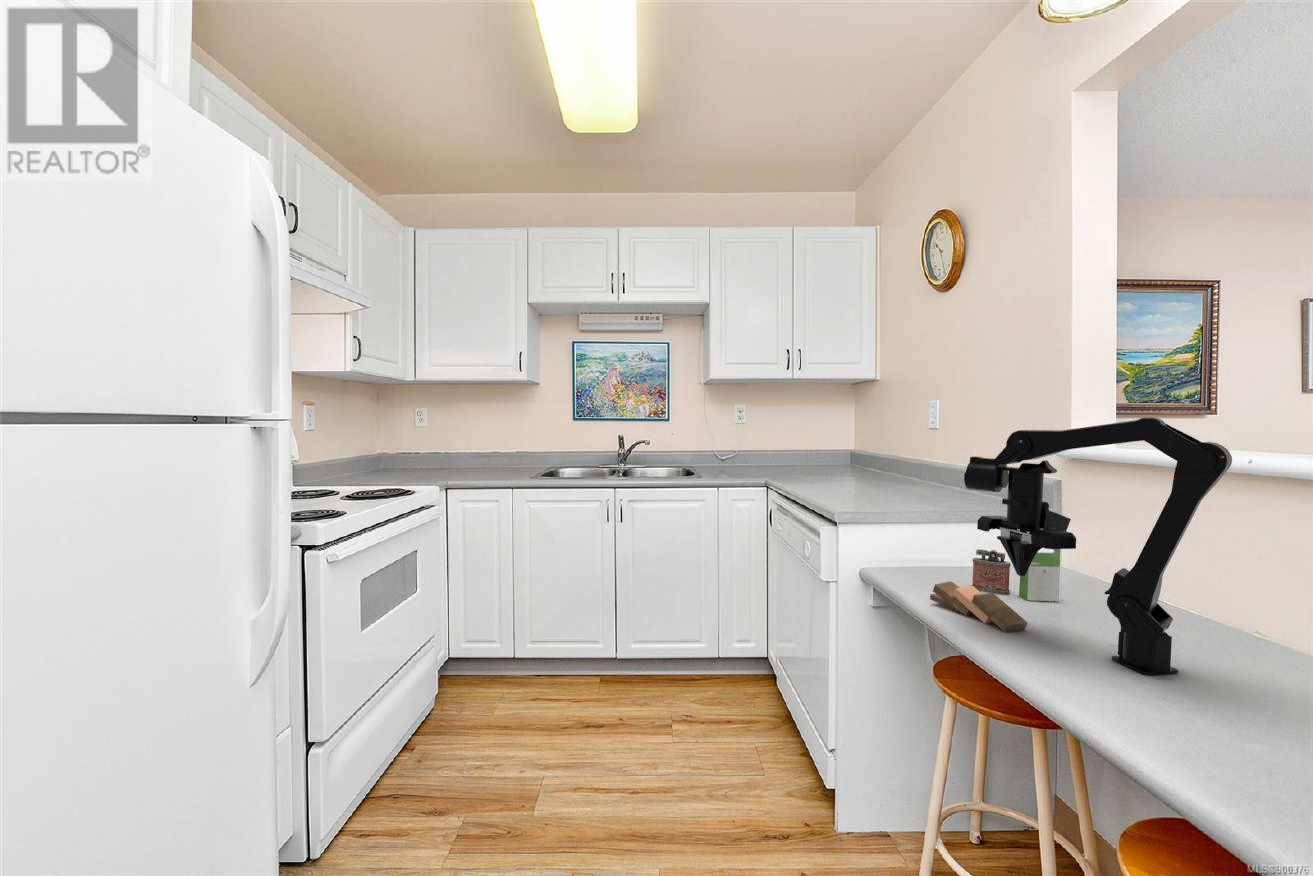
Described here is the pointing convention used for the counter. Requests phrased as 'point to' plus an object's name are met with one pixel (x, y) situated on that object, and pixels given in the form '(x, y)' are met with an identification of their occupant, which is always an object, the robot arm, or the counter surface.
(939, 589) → the domino
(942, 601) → the domino
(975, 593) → the domino
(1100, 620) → the counter surface
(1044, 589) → the ink box
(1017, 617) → the domino
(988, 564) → the lighter
